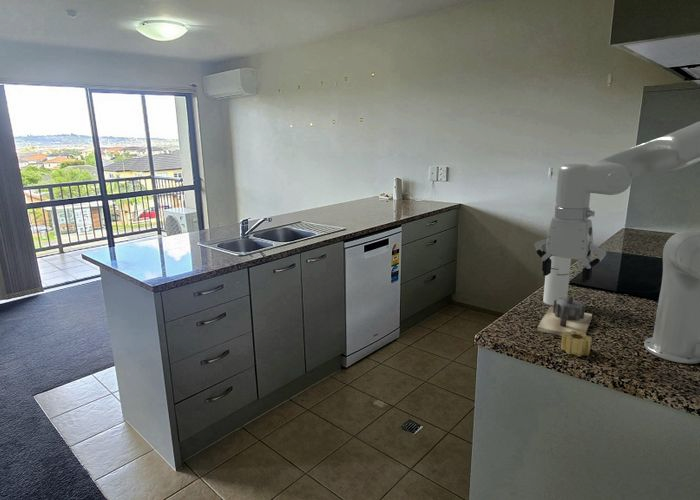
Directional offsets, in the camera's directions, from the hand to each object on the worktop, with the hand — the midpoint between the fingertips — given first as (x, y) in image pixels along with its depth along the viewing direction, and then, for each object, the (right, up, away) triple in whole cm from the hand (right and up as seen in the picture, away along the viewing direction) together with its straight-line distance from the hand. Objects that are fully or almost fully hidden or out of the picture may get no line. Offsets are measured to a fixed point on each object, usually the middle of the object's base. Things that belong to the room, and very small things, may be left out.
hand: (565, 278), depth 112 cm
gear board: (+8, -15, +16) cm, 23 cm away
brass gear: (+3, -19, 0) cm, 19 cm away
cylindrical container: (+13, -10, +33) cm, 37 cm away
